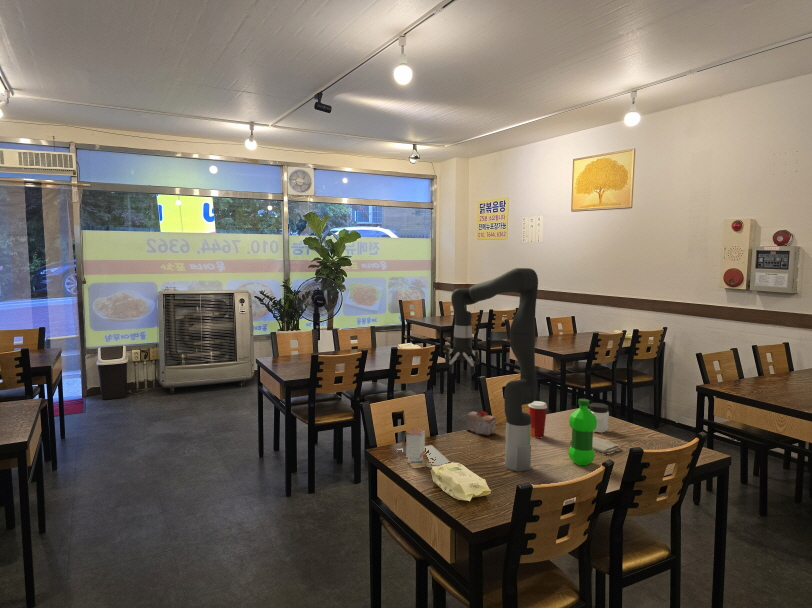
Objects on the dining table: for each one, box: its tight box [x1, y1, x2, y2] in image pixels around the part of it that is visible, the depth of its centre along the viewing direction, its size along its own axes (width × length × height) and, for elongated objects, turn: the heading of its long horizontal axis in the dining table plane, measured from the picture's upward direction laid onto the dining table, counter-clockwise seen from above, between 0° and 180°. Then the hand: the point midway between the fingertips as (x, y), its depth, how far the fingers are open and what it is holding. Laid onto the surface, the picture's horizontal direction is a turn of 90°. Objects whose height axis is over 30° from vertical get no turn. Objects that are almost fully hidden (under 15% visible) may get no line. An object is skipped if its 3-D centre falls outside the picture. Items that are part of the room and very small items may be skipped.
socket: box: [405, 428, 426, 459], centre depth 206 cm, size 6×6×10 cm
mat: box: [396, 444, 451, 468], centre depth 211 cm, size 22×16×1 cm
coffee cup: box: [527, 400, 548, 439], centre depth 238 cm, size 8×8×15 cm
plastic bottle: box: [568, 398, 597, 466], centre depth 206 cm, size 10×10×25 cm
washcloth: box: [569, 435, 622, 454], centre depth 226 cm, size 12×18×3 cm, turn 37°
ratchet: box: [402, 446, 423, 463], centre depth 209 cm, size 14×6×7 cm, turn 19°
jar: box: [588, 402, 610, 433], centre depth 248 cm, size 9×8×12 cm
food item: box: [465, 410, 498, 436], centre depth 242 cm, size 14×8×10 cm, turn 50°
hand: (461, 373), depth 225 cm, fingers open, 8 cm apart
